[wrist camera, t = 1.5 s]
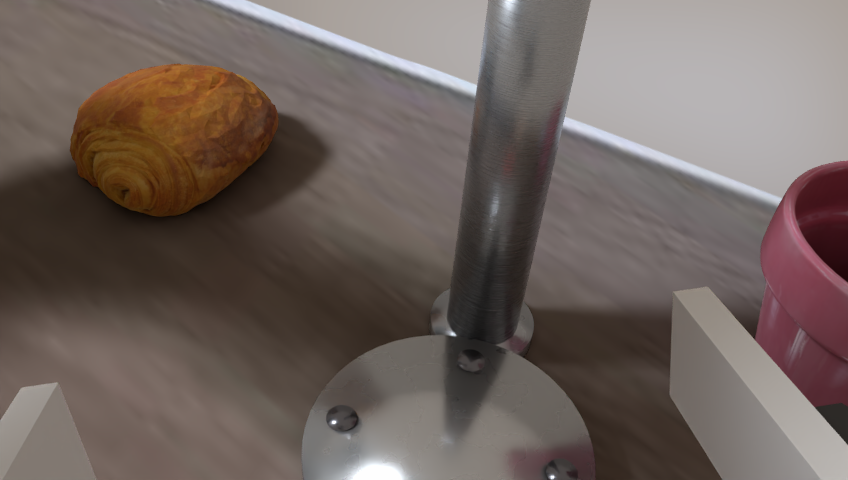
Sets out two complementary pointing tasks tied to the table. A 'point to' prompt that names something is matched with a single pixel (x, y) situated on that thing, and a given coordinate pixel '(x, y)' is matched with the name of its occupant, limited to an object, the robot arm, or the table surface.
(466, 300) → the paper towel holder
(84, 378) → the table surface
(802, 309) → the plant pot
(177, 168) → the croissant
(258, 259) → the table surface
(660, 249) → the table surface
